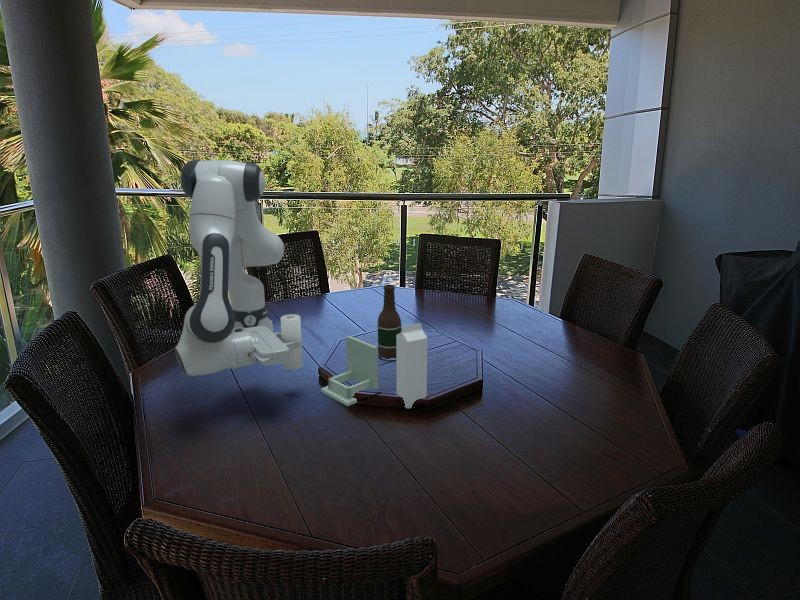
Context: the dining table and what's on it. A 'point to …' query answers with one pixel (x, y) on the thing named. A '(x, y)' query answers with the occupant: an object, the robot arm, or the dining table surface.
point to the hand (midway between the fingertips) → (294, 339)
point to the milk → (411, 364)
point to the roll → (290, 333)
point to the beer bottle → (388, 325)
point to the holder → (355, 372)
